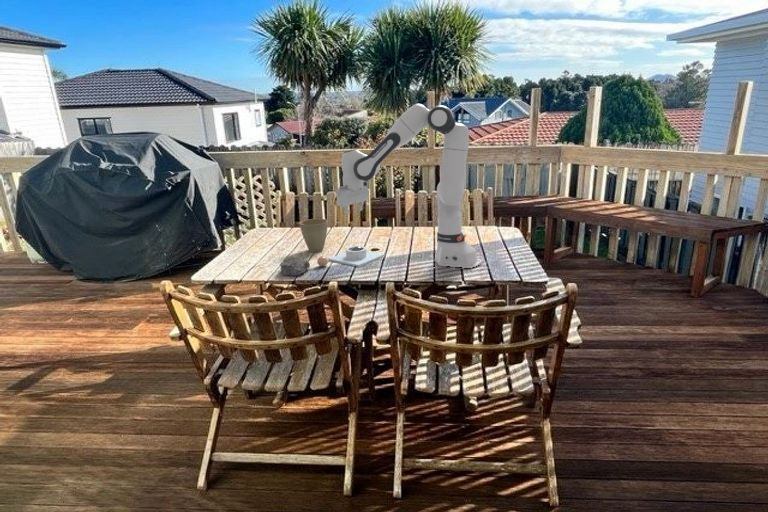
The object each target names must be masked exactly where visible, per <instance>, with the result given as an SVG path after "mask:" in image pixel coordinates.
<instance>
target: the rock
mask: <svg viewBox="0 0 768 512" xmlns="http://www.w3.org/2000/svg"><path fill="white" fill-rule="evenodd" d="M309 268H310V261H309V260H308V259H306V258H304V257H300V258H299V257H297V256H289V257H286V258H284V259H283V262H281V264H280V269H281V270H280V273H281V275H282V276H285V275H286V276H295V277H296V276H297V277H298V276H300V275H302V274H304V273H305V272H306V270H308V269H309Z"/></svg>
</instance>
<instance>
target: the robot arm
mask: <svg viewBox="0 0 768 512" xmlns="http://www.w3.org/2000/svg"><path fill="white" fill-rule="evenodd" d="M426 127H430V128H431V129H432V130H433V131H434V132H437V133H441V134H442V135H443V137H444V138H443V139H444V140H443V149H442V156H441V157H442V158H441V165H440V166H441V167H440V181H439V182H438V184H437V187H436V201H437V202H436V203H437V204H436V205H437V232H436V241H437V245H436V246H437V248H436V253H435V257H434V262H435V263H436V264H437V265H438V266H439V267H446V266H450V267H449V268H455V267H462V268H461V269H464V268H471V269H473V268H472V267H475V268H477V267H479V266H481V264H482V263H483V261H482V260H483V259H481V258H478V254H477V250H476V248H474V247H473V245H471V244H470V243H468V242H467V241H466V239H465V238H466V237H467V234H464V233H463V232H462V229H463V227H462V223H463V221H462V219H463V216H462V206H461V205H462V204H461V202H463V199H464V195H465V185H466V167H467V160H468V152H469V145H470V132H469V128H468V127H467V125H465V124H463V123H459V122H457V121H455V118H454V113H453V111H452V109H450V108H449V106H448V107H447V106H446V105H441V104H439V105H436V106H434V107H432V108H431V109H428V108H427V107H426V106H425V105H424V104H422V103H414V104H413V105H412V106H410V107H409V108H407V109H406V110H405V111H404V112H403V113H402V114H401V115H400V116H399V117H398V118H397V119H396V120H395V122H394V123H393V124H392V126H391V127H390V129H389V130H388V132H387V134H386V135H385V137H384V138H383V139H382V140H381V142H380V143H379V144H378V145H377V146H376V147H375V148H374V149H373V150H372V151H370V153H369V154H366V153H363V152H362V151H359V150H358V149H357V148H354V149H350V150H346V151H344V152H343V153H342V155H341V170H342V174H343V175H342V186H339V187H338V189H337V191H336V192H337V193H336V205H337V206H338V207H341V208H342V209H343V210H344V213H345V215H350V214H351V210H349V206H351V205H355V204H359V205H358V207H357V212H362V211H363V207H364V203H365V202H366V201H369V198H370V192H369V191H370V190H369V180H372V178H374V177H375V176H376V175H377V174H378V173H379V172H380V170H381V163H382V162H383V161H384V160H385V159H386V158H387V157H389V155H390V154H391V153H392V152H393V151H395V150H397V149H399V148H401V147H403V146H404V145H407V144H408V143H410V141H412V140H413V139H414V138H415V137H416V136H417V135H418V134H419V133H420V132H422V130H423V129H425V128H426ZM478 265H479V266H478ZM476 266H477V267H476Z"/></svg>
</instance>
